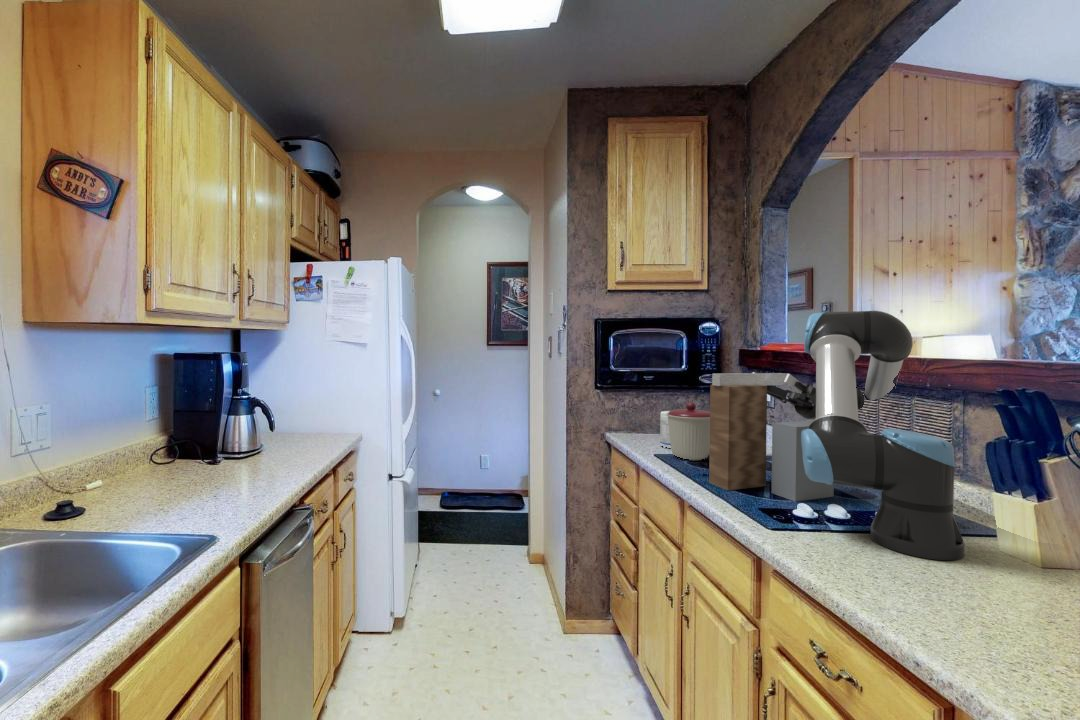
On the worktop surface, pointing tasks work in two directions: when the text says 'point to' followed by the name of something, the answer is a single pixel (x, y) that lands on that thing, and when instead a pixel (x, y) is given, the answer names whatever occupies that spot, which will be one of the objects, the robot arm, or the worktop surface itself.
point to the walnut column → (738, 436)
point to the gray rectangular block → (793, 465)
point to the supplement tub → (664, 429)
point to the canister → (689, 432)
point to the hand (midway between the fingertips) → (768, 376)
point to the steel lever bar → (748, 379)
